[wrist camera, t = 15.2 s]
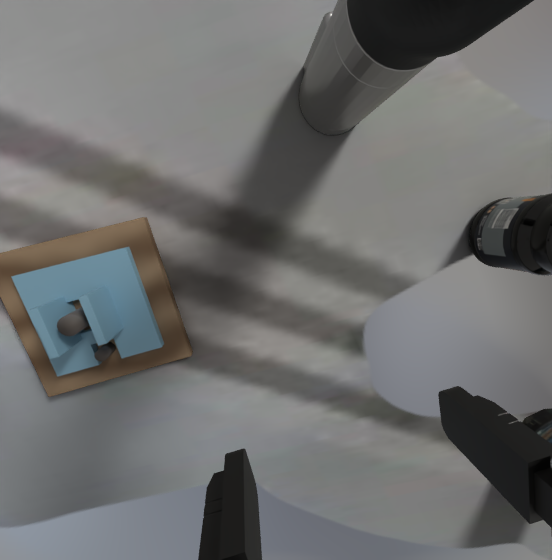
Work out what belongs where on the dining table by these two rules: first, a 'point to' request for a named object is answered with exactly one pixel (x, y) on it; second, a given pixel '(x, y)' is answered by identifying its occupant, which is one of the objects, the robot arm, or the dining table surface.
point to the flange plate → (90, 308)
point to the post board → (83, 250)
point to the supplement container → (515, 234)
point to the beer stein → (541, 423)
